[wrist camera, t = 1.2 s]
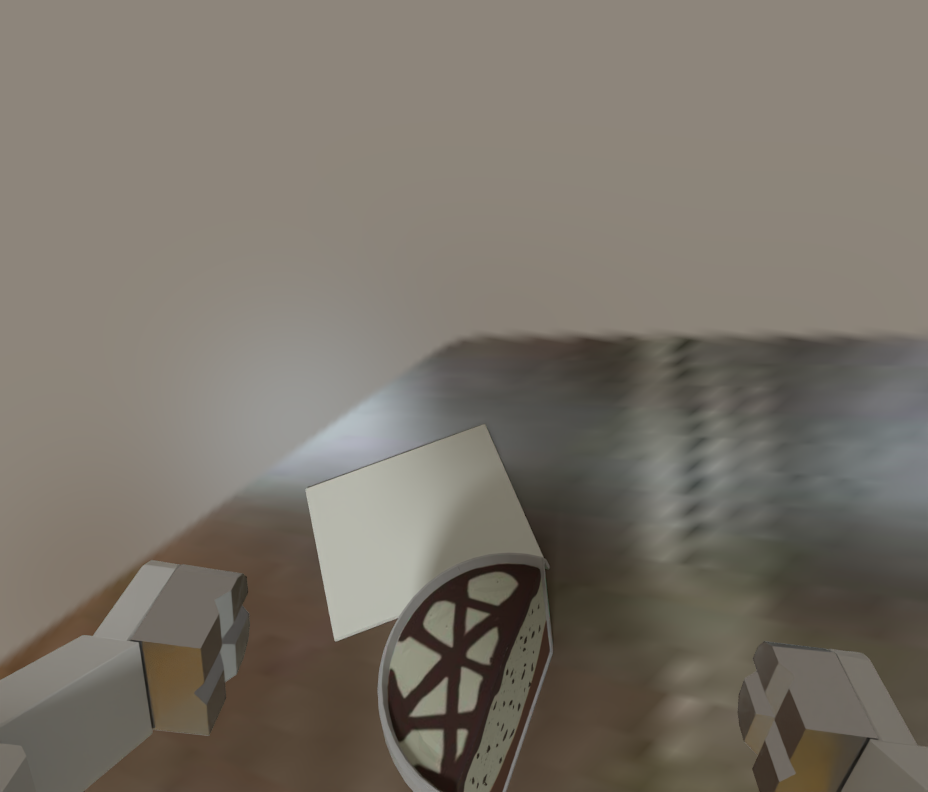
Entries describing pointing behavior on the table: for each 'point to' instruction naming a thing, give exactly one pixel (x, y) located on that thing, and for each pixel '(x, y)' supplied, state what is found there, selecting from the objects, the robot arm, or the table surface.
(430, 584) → the food container
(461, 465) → the cream flat rectangular plate
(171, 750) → the table surface
